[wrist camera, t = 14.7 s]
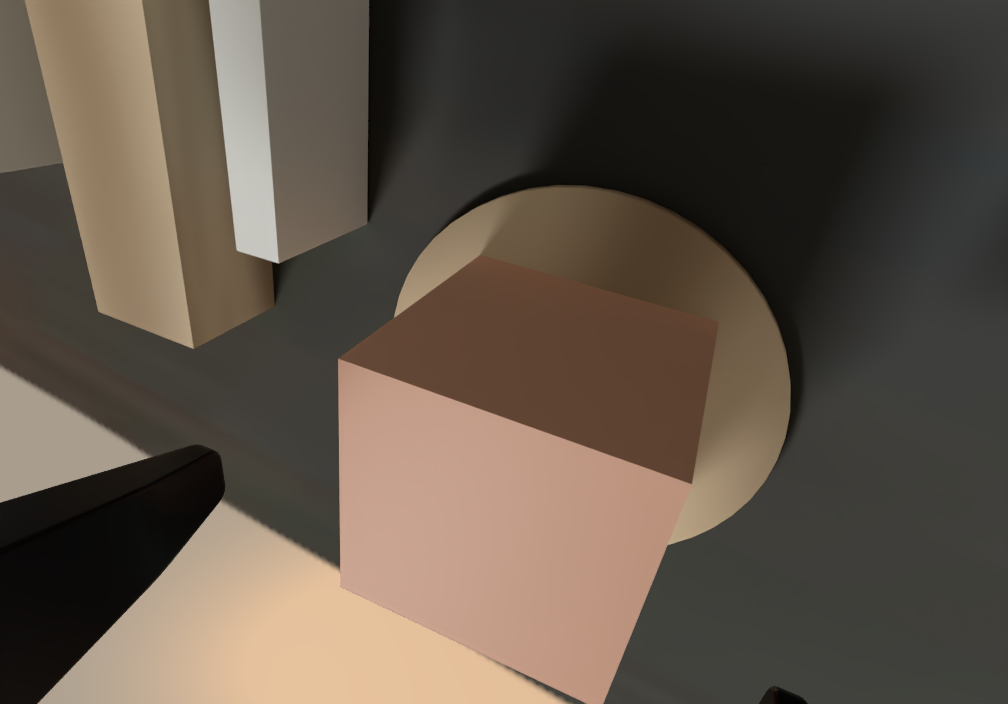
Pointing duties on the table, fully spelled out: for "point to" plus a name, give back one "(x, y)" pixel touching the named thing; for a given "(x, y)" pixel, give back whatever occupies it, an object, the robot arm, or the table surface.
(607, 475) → the block
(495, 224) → the coaster
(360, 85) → the channel
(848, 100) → the table surface
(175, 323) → the bar
